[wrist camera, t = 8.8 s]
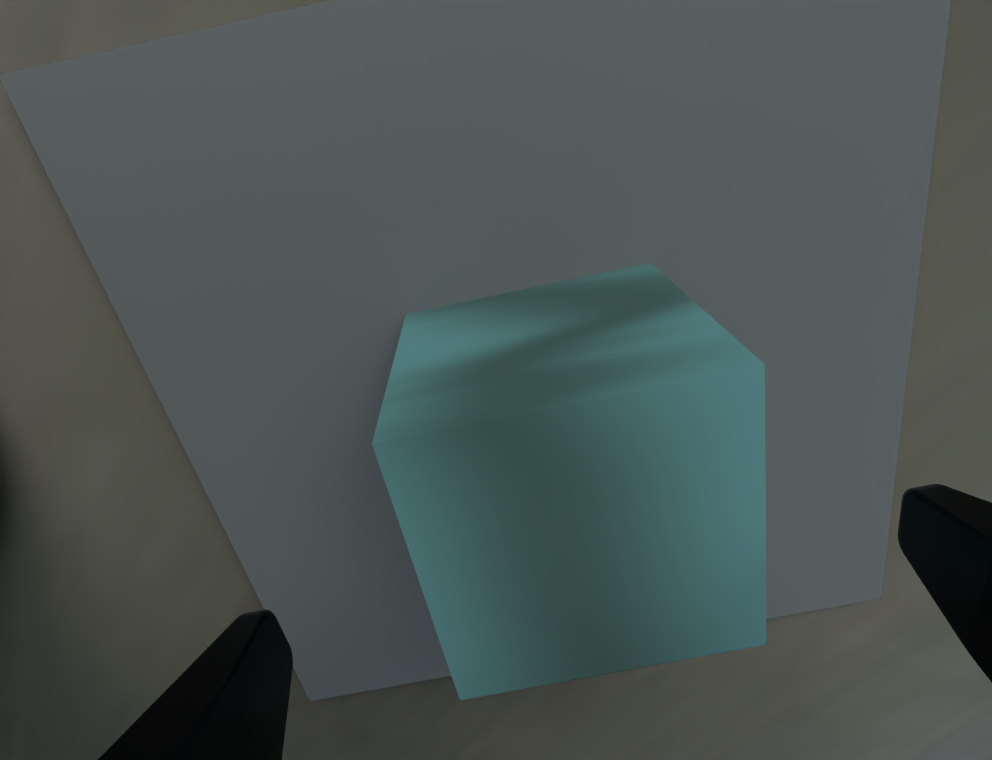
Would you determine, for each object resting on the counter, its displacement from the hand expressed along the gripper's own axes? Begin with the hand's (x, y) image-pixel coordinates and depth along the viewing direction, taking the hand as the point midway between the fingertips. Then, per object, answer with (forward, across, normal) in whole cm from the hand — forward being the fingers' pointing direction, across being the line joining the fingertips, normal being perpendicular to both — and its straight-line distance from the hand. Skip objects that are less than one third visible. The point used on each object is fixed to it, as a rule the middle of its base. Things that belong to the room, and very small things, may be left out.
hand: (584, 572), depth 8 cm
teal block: (+5, 0, 0) cm, 5 cm away
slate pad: (+6, 0, 0) cm, 6 cm away
